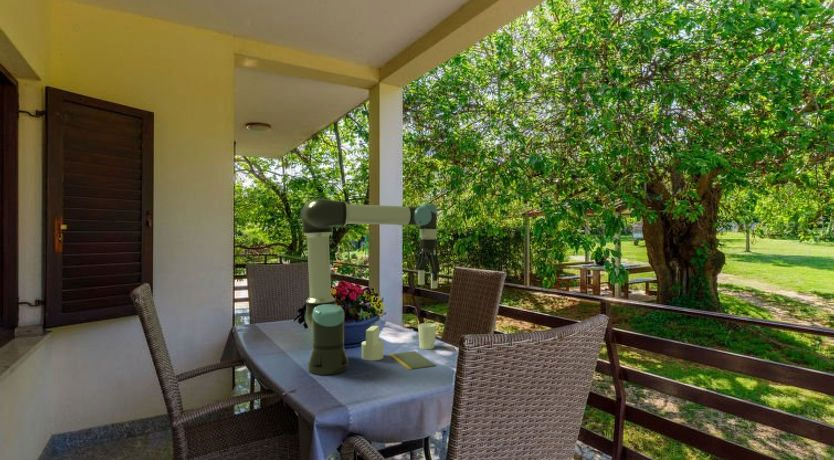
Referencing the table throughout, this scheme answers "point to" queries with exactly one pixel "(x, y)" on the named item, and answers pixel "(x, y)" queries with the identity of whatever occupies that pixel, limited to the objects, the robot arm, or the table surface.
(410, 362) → the mat
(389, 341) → the table surface
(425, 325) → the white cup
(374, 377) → the table surface
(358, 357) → the table surface
